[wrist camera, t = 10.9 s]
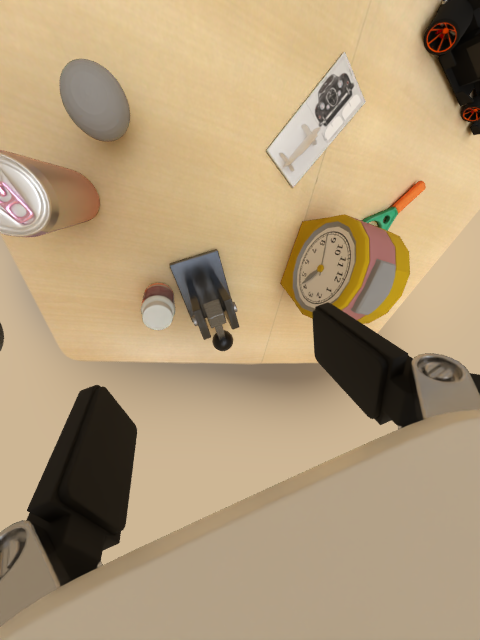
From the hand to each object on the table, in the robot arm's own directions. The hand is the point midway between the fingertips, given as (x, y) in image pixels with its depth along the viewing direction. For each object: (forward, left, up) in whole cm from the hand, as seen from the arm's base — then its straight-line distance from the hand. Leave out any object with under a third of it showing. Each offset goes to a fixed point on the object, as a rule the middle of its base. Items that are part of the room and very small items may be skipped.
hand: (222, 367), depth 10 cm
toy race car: (+51, +14, -30) cm, 61 cm away
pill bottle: (-7, -7, -30) cm, 32 cm away
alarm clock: (+21, -9, -30) cm, 38 cm away
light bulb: (-3, +15, -30) cm, 34 cm away
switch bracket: (+1, -8, -30) cm, 31 cm away
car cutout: (+24, +10, -30) cm, 40 cm away
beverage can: (-11, +9, -30) cm, 34 cm away
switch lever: (+1, -11, -24) cm, 26 cm away
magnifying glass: (+38, -6, -30) cm, 49 cm away
